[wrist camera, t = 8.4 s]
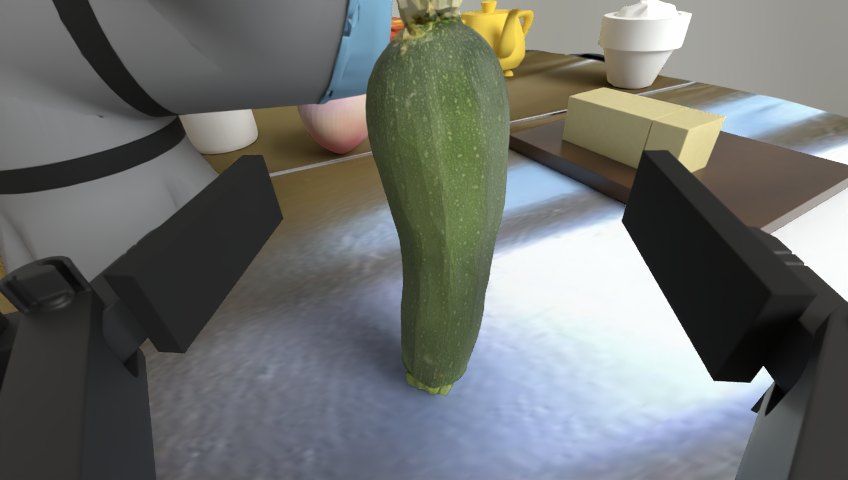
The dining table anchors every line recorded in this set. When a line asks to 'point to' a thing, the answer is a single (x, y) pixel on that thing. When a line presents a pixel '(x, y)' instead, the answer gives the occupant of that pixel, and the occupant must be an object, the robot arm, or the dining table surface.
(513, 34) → the teapot
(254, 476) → the dining table surface
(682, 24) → the potted plant
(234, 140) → the cup
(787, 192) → the butter board
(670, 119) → the block
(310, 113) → the decorative fruit
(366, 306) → the dining table surface
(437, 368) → the vegetable
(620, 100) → the butter block
